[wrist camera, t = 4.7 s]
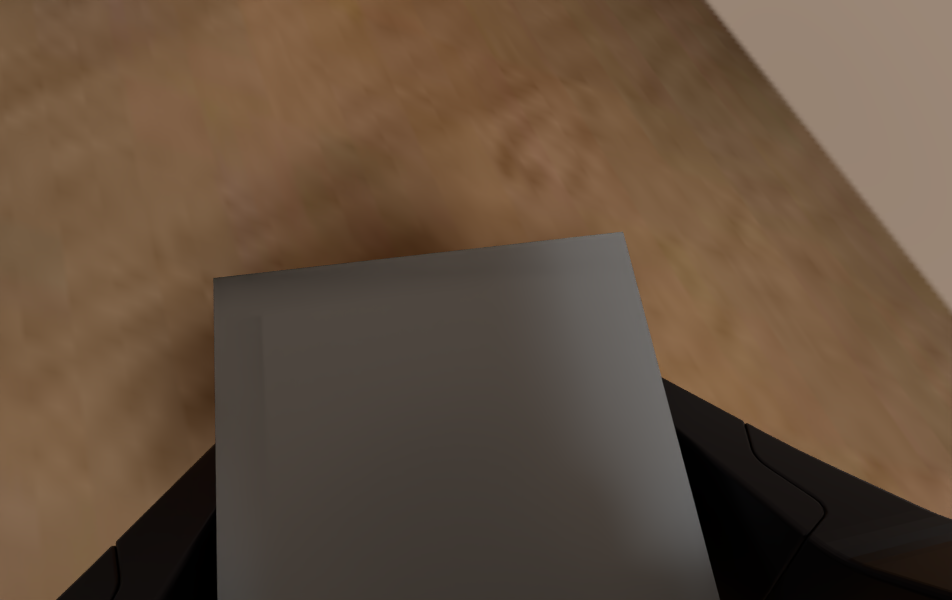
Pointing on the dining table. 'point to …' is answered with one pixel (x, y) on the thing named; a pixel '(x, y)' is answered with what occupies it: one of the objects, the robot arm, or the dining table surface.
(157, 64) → the dining table surface
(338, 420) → the grey bordered box
